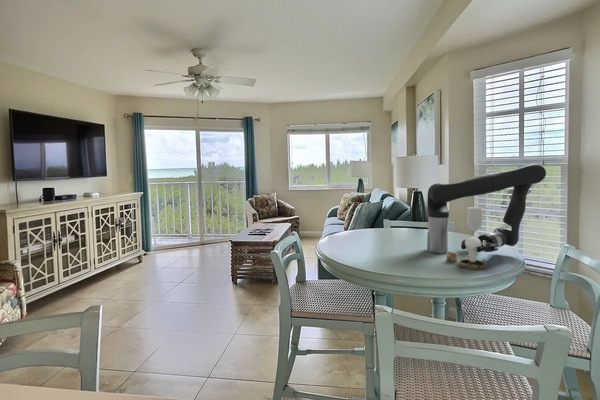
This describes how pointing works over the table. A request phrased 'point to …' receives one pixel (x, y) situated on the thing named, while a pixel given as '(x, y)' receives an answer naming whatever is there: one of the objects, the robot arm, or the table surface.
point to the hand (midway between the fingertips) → (470, 248)
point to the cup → (474, 218)
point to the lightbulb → (472, 247)
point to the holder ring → (472, 264)
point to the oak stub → (451, 256)
